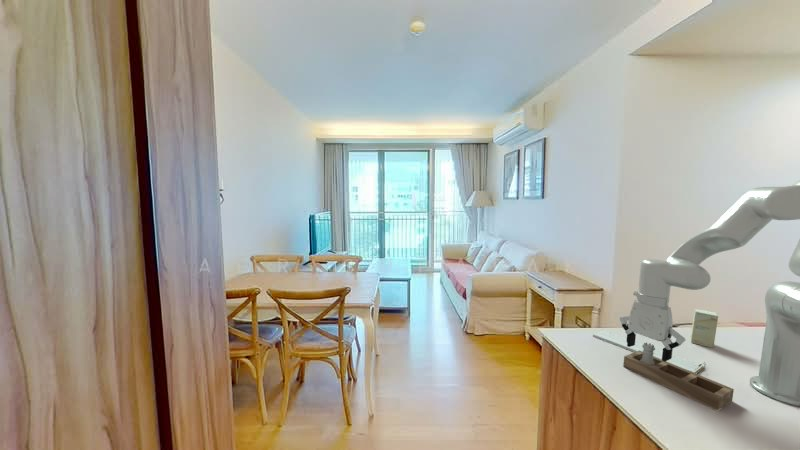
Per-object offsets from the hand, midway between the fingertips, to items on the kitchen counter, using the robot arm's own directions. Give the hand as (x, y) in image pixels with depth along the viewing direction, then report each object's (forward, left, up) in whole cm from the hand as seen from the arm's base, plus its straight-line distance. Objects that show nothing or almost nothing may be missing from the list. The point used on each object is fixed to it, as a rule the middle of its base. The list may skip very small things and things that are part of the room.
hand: (647, 352), depth 100 cm
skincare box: (-39, -1, -6) cm, 39 cm away
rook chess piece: (0, 0, -5) cm, 5 cm away
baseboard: (-14, -7, -7) cm, 17 cm away
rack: (0, +7, -6) cm, 9 cm away
